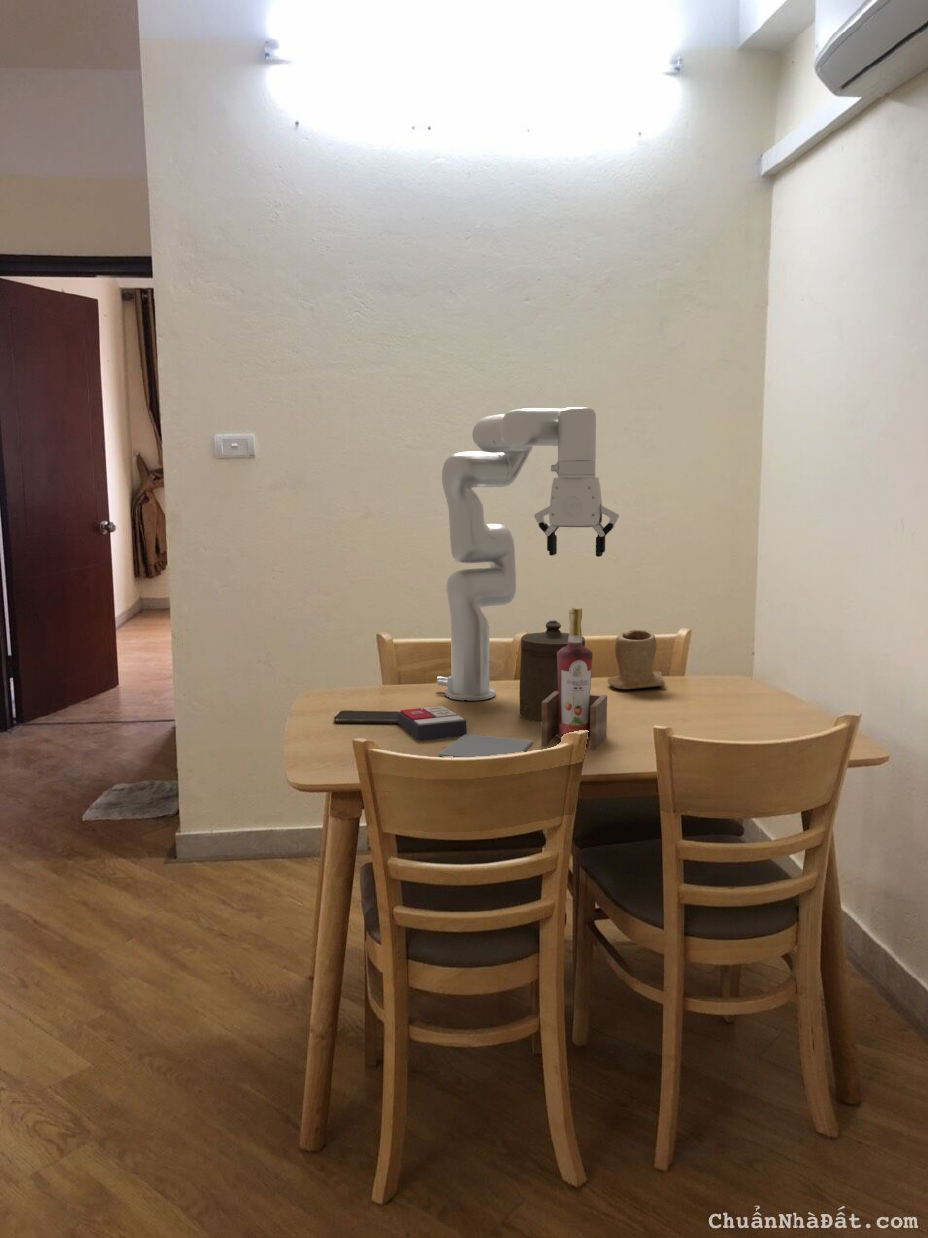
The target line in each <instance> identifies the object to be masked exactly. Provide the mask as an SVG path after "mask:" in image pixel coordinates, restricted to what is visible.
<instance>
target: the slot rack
mask: <svg viewBox="0 0 928 1238" xmlns="http://www.w3.org/2000/svg"><path fill="white" fill-rule="evenodd" d="M607 717H608V695H607V694H597V693H595V694H594V693H590V701H589V721H588V731H589V734H590V737H589V750H593V751H596V750H597V749H598V748H599V747H600V745H601V744H602V743H603V742H604V740H605V739H606V738H607V732H608V731H607V728H608V727H607V723H608V722H607V721H608V718H607ZM540 723H541V724H540V725H541V733H540V734H541V735H540V736H541V737H540V738H541V739H540V741H541V742H540V745H543V746H547V745H549V744H550V743H551V741H553V740H554V739H555V737H556V736H557V734H558V732H559V692H558V691H554V692H553V693H552V694H551V695H550V696H548V697H547V698H546V699H545V700H544V701H542V717H541V722H540Z"/></svg>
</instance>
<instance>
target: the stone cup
mask: <svg viewBox="0 0 928 1238" xmlns="http://www.w3.org/2000/svg"><path fill="white" fill-rule="evenodd" d="M614 646H615V647H614V653H615V659H616V662H617V665H618V675H614V676H611V677H608V678H607V680H606V681H607V683H608V685H610V686H611V687H613V688H616V689H619V690H637V689H647V688H654V687H656V688H657V687H663V686H665V685H666V680H665V679H664V677H663V673H662V672H661V671H659V670H658V671H657V670H656V671H652V670H653V669H652V668H653V664H654V659H655V656H656V653H657V640H656V636H655V634H654V633H653V632H651V631H650V630H646V629H631V630H628V631H625V632H621V633H619V634H618V635H617V637H616V638H615V644H614Z"/></svg>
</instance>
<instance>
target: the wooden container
mask: <svg viewBox="0 0 928 1238" xmlns="http://www.w3.org/2000/svg"><path fill="white" fill-rule="evenodd" d="M545 628H546V630H545V631H543V632H532V633H526V634H524V635H522V636H521V639H520V665H519V667H520V669H519V671H520V672H519V715H520V716H521V718H524V719H526V720H528V721H531V722H538V723H541V717H542V701H544V700H545V699H546V698H547V697H548V696H550V695H551V694H552V693H553V692H554V691H558V669H557V652H558V651H559V650H560V649H561V648H563V647H566V646H568V638H569V632H562V631H561V630H560V629H561V628H562V625H561V623H560V622H558V621H557V620H556V619H555V620H549V621H548V622H546V623H545ZM582 646H584V647H586V639H585V637H584V636H582Z"/></svg>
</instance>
